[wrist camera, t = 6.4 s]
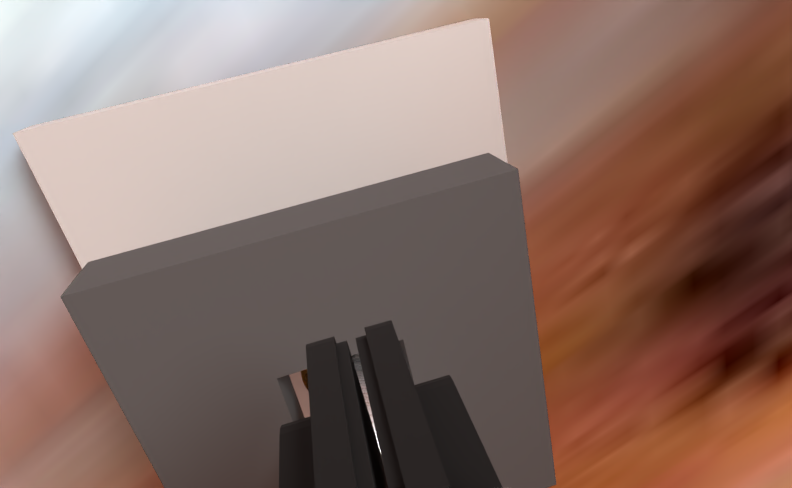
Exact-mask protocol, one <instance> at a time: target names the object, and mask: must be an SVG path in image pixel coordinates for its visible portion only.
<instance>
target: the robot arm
mask: <svg viewBox="0 0 792 488" xmlns="http://www.w3.org/2000/svg"><path fill="white" fill-rule="evenodd" d="M364 329H365V333H366V335H364V336H361V337H357V338H355V339H356V344H357V348H358V353H359V357H360V362H361V366H362V371H363V375H364V380H365V384H366V389H367V393H368V398H369V402H370V407H371V412H372V416H373V421H374V425H375V430H376V434H377V439H378V442H377V439H376V435H375V432H374V429H373V425H372V422H371V419H370V415H369V412H368V409H367V405H366V402H365V399H364V395H363V392H362V389H361V385H360V382H359V379H358V376H357V372H356V369H355V366H354V362H353V359H352V356H351V352H350V349H349V346H348V343H347V341H343V342H340V343H336V340H335V337H334V336H333V337H330V338H326V339H323V340H319V341H316V342H312V343H309V344H306V359H307V374H308V389H309V405H310V417H307V418H303V419H300V420H297V421H293V422H290V423H287V424H283V425H281V427H280V435H279V488H503V487H502V485H501V483H500V481H499V479H498V476H497V474H496V472H495V470H494V468H493V466H492V463H491V461H490V459H489V457H488V455H487V453H486V450H485V448H484V446H483V444H482V442H481V440H480V438H479V435H478V433H477V431H476V429H475V427H474V425H473V422H472V420H471V418H470V416H469V414H468V412H467V409H466V407H465V405H464V403H463V401H462V399H461V397H460V394H459V392H458V390H457V388H456V386H455V384H454V381H453V380H452V378H451V376H450V375H446V376H443V377H440V378H436V379H433V380H430V381H426V382H423V383H420V384H416V385H414V383H413V380H412V377H411V374H410V371H409V369H408V366H407V363H406V360H405V357H404V354H403V351H402V349H401V346H400V343H399V340H398V337H397V334H396V332H395V329H394V326H393V323H392V321H391V320H389V321H385V322H382V323H378V324H375V325H371V326H368V327H364ZM378 443H379V445H378ZM379 448H380V449H379ZM380 452H381V453H380Z"/></svg>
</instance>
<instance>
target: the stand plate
mask: <svg viewBox="0 0 792 488" xmlns="http://www.w3.org/2000/svg"><path fill="white" fill-rule="evenodd" d="M13 135H14V137H15V139H16V141H17V143H18V145H19V147H20V149H21V151H22V153H23V155H24V157H25V159H26V160H27V162H28V164H29V166H30V168H31V170H32V172H33V174H34V176H35V178H36V180H37V182H38V184H39V186H40V188H41V190H42V192H43V194H44V196H45V198H46V199H47V201H48V203H49V205H50V207H51V209H52V211H53V213H54V215H55V217H56V219H57V221H58V223H59V225H60V227H61V229H62V231H63V233H64V235H65V237H66V239H67V240H68V242H69V244H70V246H71V248H72V250H73V252H74V254H75V256H76V258H77V260H78V262H79V264H80V266H81V268H82V269H83V268H84V266H85V265H86V264H87V263H88V262H90V261H94V260H97V259H101V258H105V257H108V256H112V255H116V254H119V253H123V252H127V251H130V250H134V249H138V248H141V247H145V246H149V245H152V244H156V243H160V242H163V241H167V240H171V239H174V238H178V237H182V236H185V235H189V234H193V233H196V232H200V231H204V230H207V229H211V228H215V227H218V226H222V225H225V224H229V223H233V222H236V221H240V220H244V219H247V218H251V217H255V216H258V215H262V214H266V213H269V212H273V211H277V210H280V209H284V208H288V207H291V206H295V205H299V204H302V203H306V202H310V201H313V200H317V199H321V198H324V197H328V196H332V195H335V194H339V193H343V192H346V191H350V190H354V189H357V188H361V187H365V186H368V185H372V184H376V183H379V182H383V181H387V180H390V179H394V178H398V177H401V176H405V175H409V174H412V173H416V172H420V171H423V170H427V169H431V168H434V167H438V166H441V165H445V164H449V163H452V162H456V161H460V160H463V159H467V158H471V157H474V156H478V155H482V154H485V153H490V154H492V155H494V156H495V157H497V158H499V159H501V160H502V161H504V162H506V163H507V155H506V147H505V139H504V132H503V124H502V116H501V108H500V101H499V93H498V85H497V77H496V70H495V62H494V54H493V47H492V39H491V31H490V23H489V18H480V19H470V20H466V21H462V22H458V23H454V24H450V25H446V26H441V27H437V28H433V29H429V30H425V31H421V32H417V33H412V34H408V35H404V36H400V37H396V38H392V39H388V40H383V41H379V42H375V43H371V44H367V45H363V46H359V47H355V48H350V49H346V50H342V51H338V52H334V53H330V54H326V55H321V56H317V57H313V58H309V59H305V60H301V61H297V62H292V63H288V64H284V65H280V66H276V67H272V68H268V69H263V70H259V71H255V72H251V73H247V74H243V75H239V76H235V77H230V78H226V79H222V80H218V81H214V82H210V83H206V84H201V85H197V86H193V87H189V88H185V89H181V90H177V91H172V92H168V93H164V94H160V95H156V96H152V97H148V98H143V99H139V100H135V101H131V102H127V103H123V104H119V105H114V106H110V107H106V108H102V109H98V110H94V111H90V112H86V113H81V114H77V115H73V116H69V117H65V118H61V119H57V120H52V121H48V122H44V123H40V124H36V125H32V126H30V127H27V128H25V129H22V130H20V131H17V132H15V133H13ZM289 376H290V379H291V382H292V384H293V387H294V390H295V393H296V395H297V398H298V401H299V404H300V406H301V409H302V412H303V415H304V417H305V418H307V417H310V405H309V391H308V390H307V389H306V387H305V385H304V383H303V381H302V377H301V371H299V372H296V373H293V374H290V375H289Z"/></svg>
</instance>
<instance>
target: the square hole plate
mask: <svg viewBox="0 0 792 488" xmlns="http://www.w3.org/2000/svg"><path fill="white" fill-rule="evenodd" d="M61 299H62V301H63V302H64V304H65V306H66V308H67V310H68V312H69V313H70V315H71V317H72V319H73V321H74V323H75V324H76V326H77V328H78V330H79V332H80V334H81V335H82V337H83V339H84V341H85V343H86V345H87V346H88V348H89V350H90V352H91V354H92V356H93V357H94V359H95V361H96V363H97V365H98V367H99V368H100V370H101V372H102V374H103V376H104V378H105V379H106V381H107V383H108V385H109V387H110V389H111V390H112V392H113V394H114V396H115V398H116V400H117V402H118V403H119V405H120V407H121V409H122V411H123V413H124V414H125V416H126V418H127V420H128V422H129V424H130V425H131V427H132V429H133V431H134V433H135V435H136V436H137V438H138V440H139V442H140V444H141V446H142V447H143V449H144V451H145V453H146V455H147V457H148V458H149V460H150V462H151V464H152V466H153V468H154V469H155V471H156V473H157V475H158V477H159V479H160V480H161V482H162V484H163V486H164V488H279V435H280V427H281V425H283V424H287V423H290V422H293V421H297V420H300V419H303V418H305V417H304V415H303V412H302V409H301V406H300V404H299V401H298V398H297V395H296V393H295V390H294V387H293V384H292V382H291V379H290V376H289V375H290V374H293V373H296V372H299V371H303V370H306V369H307V359H306V344H309V343H312V342H316V341H319V340H323V339H326V338H330V337H333V336H334V337H335V340H336V343H340V342H343V341H347V343H348V346H349V349H350V352H351V355H354V354H357V353H358V348H357V344H356V339H355V338H357V337H361V336H364V335H366V333H365V329H364V327H368V326H371V325H375V324H378V323H382V322H385V321H389V320H391V321H392V323H393V326H394V329H395V332H396V334H397V337H398V340H399V343H400V346H401V349H402V351H403V354H404V357H405V360H406V363H407V366H408V369H409V371H410V374H411V377H412V380H413V383H414V385H416V384H420V383H423V382H426V381H430V380H433V379H436V378H440V377H443V376H446V375H450V376H451V378H452V380H453V381H454V384H455V386H456V388H457V390H458V392H459V394H460V397H461V399H462V401H463V403H464V405H465V407H466V409H467V412H468V414H469V416H470V418H471V420H472V422H473V425H474V427H475V429H476V431H477V433H478V435H479V438H480V440H481V442H482V444H483V446H484V448H485V450H486V453H487V455H488V457H489V459H490V461H491V463H492V466H493V468H494V470H495V472H496V474H497V476H498V479H499V481H500V483H501V485H502V487H503V488H548V487H551V486H553V485H556V478H555V470H554V462H553V453H552V445H551V437H550V429H549V420H548V412H547V404H546V396H545V387H544V379H543V371H542V363H541V354H540V346H539V338H538V330H537V322H536V313H535V305H534V297H533V289H532V280H531V272H530V264H529V256H528V247H527V239H526V231H525V223H524V214H523V206H522V198H521V190H520V181H519V173H518V169H517V168H515V167H513V166H511V165H510V164H508V163H506V162H504V161H502V160H501V159H499V158H497V157H495V156H494V155H492V154H490V153H485V154H482V155H478V156H474V157H471V158H467V159H463V160H460V161H456V162H452V163H449V164H445V165H441V166H438V167H434V168H431V169H427V170H423V171H420V172H416V173H412V174H409V175H405V176H401V177H398V178H394V179H390V180H387V181H383V182H379V183H376V184H372V185H368V186H365V187H361V188H357V189H354V190H350V191H346V192H343V193H339V194H335V195H332V196H328V197H324V198H321V199H317V200H313V201H310V202H306V203H302V204H299V205H295V206H291V207H288V208H284V209H280V210H277V211H273V212H269V213H266V214H262V215H258V216H255V217H251V218H247V219H244V220H240V221H236V222H233V223H229V224H225V225H222V226H218V227H215V228H211V229H207V230H204V231H200V232H196V233H193V234H189V235H185V236H182V237H178V238H174V239H171V240H167V241H163V242H160V243H156V244H152V245H149V246H145V247H141V248H138V249H134V250H130V251H127V252H123V253H119V254H116V255H112V256H108V257H105V258H101V259H97V260H94V261H90V262H88V263H87V264H86V265H85V266H84V268H83V269H82V270H81V271H80V273H79V274H78V275H77V276H76V278H75V279H74V280H73V282H72V283H71V284H70V285H69V287H68V288H67V289H66V290H65V292H64V293H63V294H62V296H61Z"/></svg>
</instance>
